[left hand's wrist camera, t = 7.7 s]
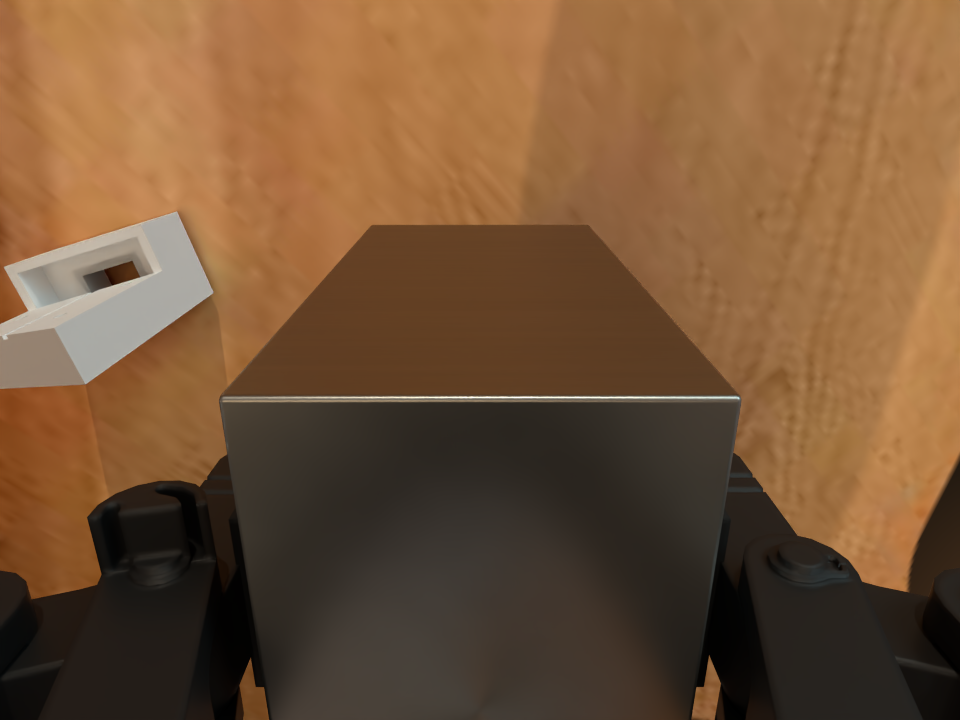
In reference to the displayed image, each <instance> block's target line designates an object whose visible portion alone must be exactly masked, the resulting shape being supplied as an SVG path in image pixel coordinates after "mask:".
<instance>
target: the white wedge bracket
mask: <svg viewBox="0 0 960 720" xmlns="http://www.w3.org/2000/svg"><path fill="white" fill-rule="evenodd" d="M130 261H133V263H134V265H135V267H136V269H137V271H138V273H139V275H140V278H136V279H133V280H130V281H127V282H123V283H120V284H117V285H113V286H112V285H111V283H110V281H109V279H108V277H107V275H106V273H105V271H104V269H107V268H110V267H113V266H117V265H120V264H123V263H127V262H130ZM4 268H5V270H6V272H7V274H8V275H9V277H10V279H11V281H12V283H13V284H14V286H15V288H16V290H17V291H18V293H19V295H20V297H21V299H22V300H23V302H24V304H25V306H26V307H27V309H28V312H26V313H23V314H21V315H19V316H17V317H15V318H13V319H10V320H8V321H6V322H4V323H2V324H0V389H5V388H25V387H45V386H64V385H84V384H87V383H88V382H90V381H91V380H92V379H94V378H95V377H97V376H98V375H99V374H101V373H102V372H104V371H105V370H106V369H108V368H109V367H111V366H112V365H113V364H115V363H116V362H118V361H119V360H120V359H122V358H123V357H125V356H126V355H127V354H129V353H130V352H132V351H133V350H134V349H136V348H137V347H139V346H140V345H141V344H143V343H144V342H146V341H147V340H148V339H150V338H151V337H153V336H154V335H155V334H157V333H158V332H160V331H161V330H162V329H164V328H165V327H167V326H168V325H169V324H171V323H172V322H174V321H175V320H176V319H178V318H179V317H181V316H182V315H183V314H185V313H186V312H188V311H189V310H190V309H192V308H193V307H195V306H196V305H197V304H199V303H200V302H202V301H203V300H204V299H206V298H207V297H209V296H210V295H211V294H213V293H214V292H213V290H212V288H211V286H210V284H209V281H208V279H207V277H206V275H205V273H204V270H203V268H202V266H201V264H200V261H199V259H198V257H197V255H196V253H195V250H194V248H193V246H192V244H191V242H190V239H189V237H188V235H187V233H186V231H185V228H184V226H183V224H182V222H181V220H180V217H179V215H178V213H177V212H174V213H170V214H167V215H164V216H161V217H158V218H154V219H151V220H148V221H145V222H142V223H138V224H135V225H132V226H129V227H126V228H122V229H119V230H116V231H113V232H109V233H106V234H103V235H100V236H97V237H93V238H90V239H87V240H84V241H81V242H77V243H74V244H71V245H68V246H65V247H61V248H58V249H55V250H52V251H49V252H46V253H43V254H40V255H37V256H34V257H32V258H29V259H26V260H23V261H20V262H17V263H14V264H11V265H8V266H5V267H4Z"/></svg>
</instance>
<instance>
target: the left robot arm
mask: <svg viewBox="0 0 960 720" xmlns="http://www.w3.org/2000/svg"><path fill="white" fill-rule="evenodd" d="M207 477H208V478H207V480H205V481H204V482H203V483H202V485H201V486H200V487H199V486H197V485H196V484H192V483H188V482H184V481H157V482H152V483H147V484H142V485H138V486H135V487H132V488H130V489H127V490H124V491H122V492H119V493H117V494H115V495H113V496H111V497H110V498H108V499H107V500H105V501H103V502H102V503H100V504H99V505H98V506H97V507H96V508H95V509H94V510H93V511H92V512H91V513H90V515H89V516H88V517H87V519H88V522H89V526H90V530H91V534H92V538H93V542H94V546H95V550H96V554H97V558H98V562H99V566H100V570H101V573H102V575H101V577H100V580H99V582H98V584H97V585H95V586H91V587H87V588H84V589H80V590H75V591H70V592H65V593H61V594H56V595H51V596H46V597H41V598H36V599H31V596H30V593H29V590H28V586H27V583H26V581H25V580H24V579H23V578H21V577H20V576H19V575H18V574H16V573H11V572H5V571H0V720H243V715H244V711H243V705H242V698H241V692H240V687H239V684H240V682H241V679H242V677H243V675H244V672H245V670H246V667H247V665H248V663H249V660H250V658H251V661H252V667H253V673H254V679H255V685H256V687H264V683H263V677H262V670H261V664H260V657H259V651H258V645H257V638H256V632H255V626H254V619H253V613H252V607H251V600H250V594H249V588H248V581H247V575H246V568H245V562H244V556H243V549H242V543H241V537H240V530H239V524H238V518H237V511H236V505H235V499H234V492H233V486H232V480H231V473H230V467H229V460H228V454H227V455H226V456H224V457H223V458H221V459H220V460H219V461H218V463H217V464H216V466H215V467H214V468H213V470H212V471H211V472H210V474H209V475H208V476H207ZM709 655H710V658H711V660H712V663H713V665H714V668H715V670H716V672H717V675H718V677H719V680H720V682H721V687H720V692H719V698H718V704H717V709H716V715H715V720H960V568H955V569H949V570H944V571H943V572H941V573H940V574H939V575H938V576H936V577H935V578H934V581H933V584H932V588H931V591H930V594H929V597H928V596H923V595H918V594H913V593H908V592H904V591H899V590H894V589H889V588H884V587H879V586H876V585H872V584H868V583H864V582H862V581H861V579H860V576H859V574H858V573H857V571H856V570H855V569H854V567H853V566H852V565H851V563H850V562H849V560H847V559H846V558H845V557H843V556H842V555H840V554H839V553H838V552H836V551H835V550H834V549H832V548H830V547H828V546H826V545H824V544H821V543H819V542H817V541H814V540H812V539H809V538H805V537H800V536H797V534H796V533H795V532H794V530H793V529H792V528H791V526H790V525H789V523H788V522H787V521H786V519H785V518H784V517H783V515H782V514H781V513H780V511H779V510H778V508H777V507H776V506H775V504H774V503H773V502H772V500H771V499H770V498H769V496H768V495H767V493H766V492H763V488H762V487H761V485H760V484H759V483H758V481H757V480H756V478H753V477H752V473H751V472H750V470H749V469H748V468H747V466H746V465H745V463H744V462H743V461H742V459H741V458H740V457H739V456H737V455H736V454H734V453H733V457H732V463H731V470H730V476H729V482H728V489H727V495H726V501H725V508H724V514H723V520H722V527H721V533H720V539H719V546H718V552H717V558H716V565H715V571H714V577H713V584H712V590H711V596H710V603H709V609H708V615H707V622H706V628H705V634H704V641H703V647H702V654H701V660H700V666H699V673H698V679H697V685H696V687H704V683H705V676H706V670H707V664H708V658H709Z"/></svg>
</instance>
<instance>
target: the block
mask: <svg viewBox="0 0 960 720" xmlns="http://www.w3.org/2000/svg"><path fill="white" fill-rule="evenodd" d="M219 403H220V410H221V416H222V422H223V429H224V435H225V441H226V448H227V454H228V460H229V467H230V473H231V480H232V486H233V492H234V499H235V505H236V511H237V518H238V524H239V530H240V537H241V543H242V549H243V556H244V562H245V568H246V575H247V581H248V588H249V594H250V600H251V607H252V613H253V619H254V626H255V632H256V638H257V645H258V651H259V657H260V664H261V670H262V677H263V683H264V689H265V696H266V702H267V708H268V715H269V720H691V717H692V711H693V704H694V698H695V692H696V685H697V679H698V673H699V666H700V660H701V654H702V647H703V641H704V634H705V628H706V622H707V615H708V609H709V603H710V596H711V590H712V584H713V577H714V571H715V565H716V558H717V552H718V546H719V539H720V533H721V527H722V520H723V514H724V508H725V501H726V495H727V489H728V482H729V476H730V470H731V463H732V457H733V451H734V444H735V438H736V432H737V425H738V419H739V412H740V406H741V397H740V395H739V394H738V393H737V392H736V391H735V390H734V388H733V387H732V386H731V385H730V384H729V383H728V382H727V381H726V379H725V378H724V377H723V376H722V375H721V374H720V373H719V372H718V370H717V369H716V368H715V367H714V366H713V365H712V364H711V363H710V361H709V360H708V359H707V358H706V357H705V356H704V355H703V354H702V352H701V351H700V350H699V349H698V348H697V347H696V346H695V345H694V343H693V342H692V341H691V340H690V339H689V338H688V337H687V336H686V334H685V333H684V332H683V331H682V330H681V329H680V328H679V327H678V325H677V324H676V323H675V322H674V321H673V320H672V319H671V318H670V316H669V315H668V314H667V313H666V312H665V311H664V310H663V309H662V307H661V306H660V305H659V304H658V303H657V302H656V301H655V300H654V298H653V297H652V296H651V295H650V294H649V293H648V292H647V291H646V289H645V288H644V287H643V286H642V285H641V284H640V283H639V282H638V280H637V279H636V278H635V277H634V276H633V275H632V274H631V272H630V271H629V270H628V269H627V268H626V267H625V266H624V265H623V263H622V262H621V261H620V260H619V259H618V258H617V257H616V256H615V254H614V253H613V252H612V251H611V250H610V249H609V248H608V247H607V245H606V244H605V243H604V242H603V241H602V240H601V239H600V238H599V236H598V235H597V234H596V233H595V232H594V231H593V230H592V229H591V227H590V226H588V225H372V226H371V227H370V228H369V229H368V230H367V231H366V232H365V233H364V234H363V236H362V237H361V238H360V239H359V240H358V241H357V242H356V243H355V245H354V246H353V247H352V248H351V249H350V250H349V251H348V252H347V254H346V255H345V256H344V257H343V258H342V259H341V260H340V262H339V263H338V264H337V265H336V266H335V267H334V268H333V269H332V271H331V272H330V273H329V274H328V275H327V276H326V277H325V278H324V280H323V281H322V282H321V283H320V284H319V285H318V286H317V287H316V289H315V290H314V291H313V292H312V293H311V294H310V295H309V296H308V298H307V299H306V300H305V301H304V302H303V303H302V304H301V305H300V307H299V308H298V309H297V310H296V311H295V312H294V313H293V315H292V316H291V317H290V318H289V319H288V320H287V321H286V322H285V324H284V325H283V326H282V327H281V328H280V329H279V330H278V331H277V333H276V334H275V335H274V336H273V337H272V338H271V339H270V340H269V342H268V343H267V344H266V345H265V346H264V347H263V348H262V349H261V351H260V352H259V353H258V354H257V355H256V356H255V357H254V358H253V360H252V361H251V362H250V363H249V364H248V365H247V366H246V368H245V369H244V370H243V371H242V372H241V373H240V374H239V375H238V377H237V378H236V379H235V380H234V381H233V382H232V383H231V384H230V386H229V387H228V388H227V389H226V390H225V391H224V392H223V393H222V395H221V396H220V399H219Z"/></svg>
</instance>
